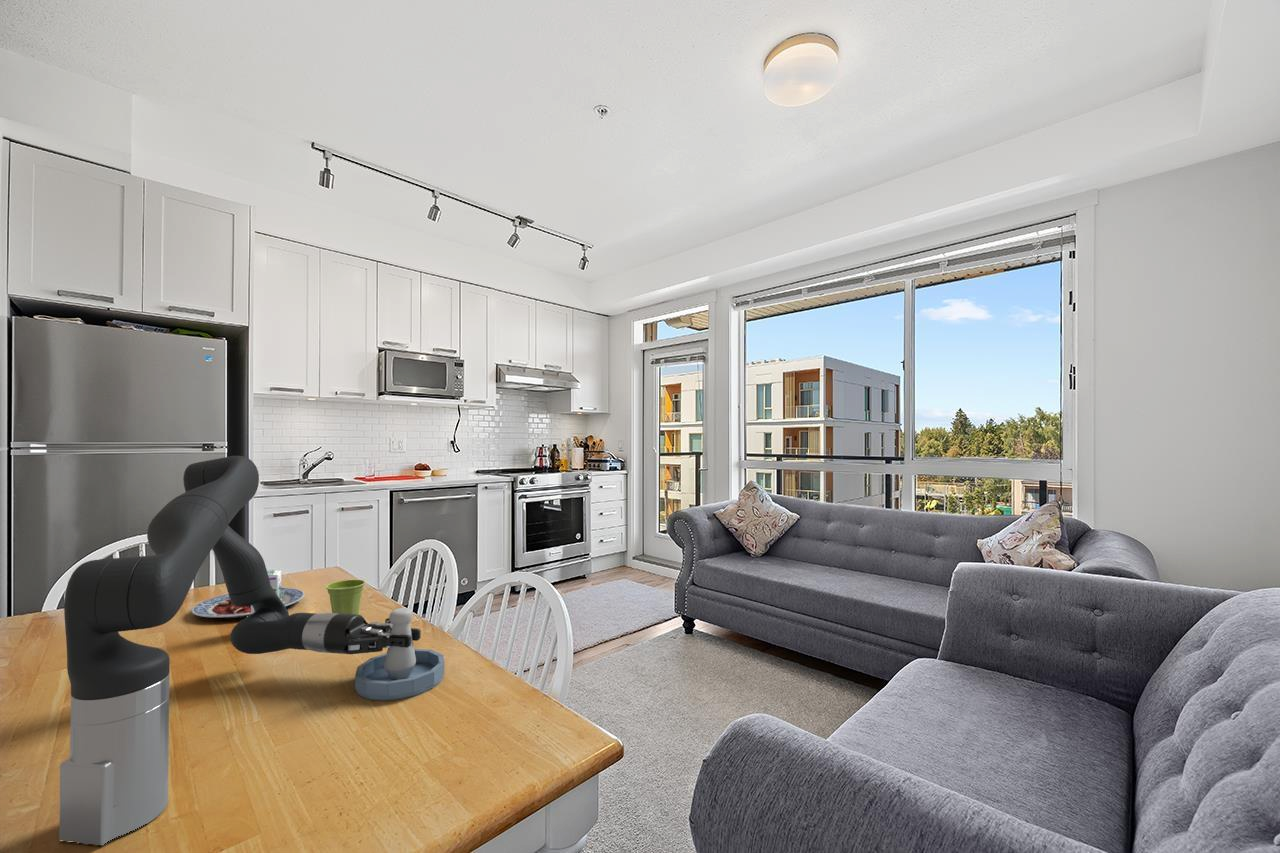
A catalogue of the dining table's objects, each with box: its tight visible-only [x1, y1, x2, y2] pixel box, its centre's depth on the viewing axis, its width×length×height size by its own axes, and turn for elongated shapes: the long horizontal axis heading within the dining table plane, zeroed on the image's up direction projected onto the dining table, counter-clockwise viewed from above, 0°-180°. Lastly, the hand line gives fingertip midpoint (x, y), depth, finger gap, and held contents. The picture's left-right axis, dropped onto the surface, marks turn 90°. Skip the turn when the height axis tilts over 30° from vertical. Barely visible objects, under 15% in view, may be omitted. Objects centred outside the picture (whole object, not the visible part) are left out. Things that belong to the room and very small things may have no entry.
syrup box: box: [251, 569, 282, 614], centre depth 136 cm, size 6×6×14 cm
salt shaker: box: [384, 607, 416, 680], centre depth 109 cm, size 6×6×13 cm
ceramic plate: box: [191, 587, 305, 619], centre depth 154 cm, size 26×26×3 cm
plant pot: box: [325, 579, 366, 615], centre depth 148 cm, size 9×9×9 cm
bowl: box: [354, 648, 445, 702], centre depth 109 cm, size 16×16×3 cm
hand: (414, 637), depth 109 cm, fingers closed on salt shaker, 3 cm apart
